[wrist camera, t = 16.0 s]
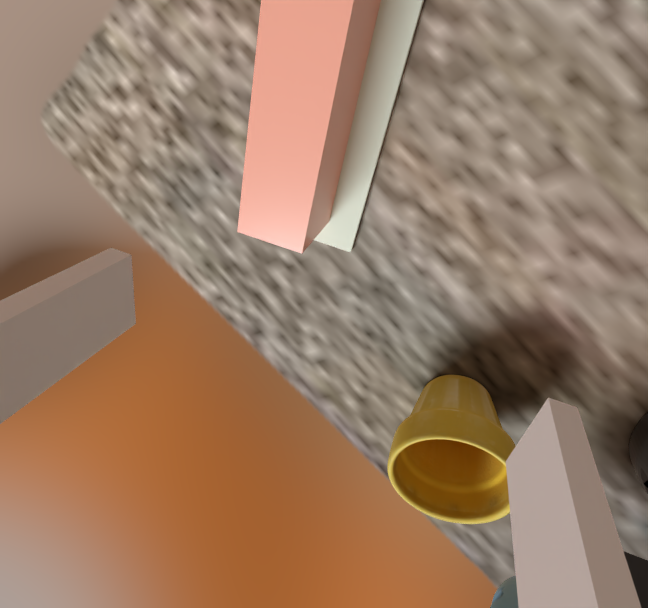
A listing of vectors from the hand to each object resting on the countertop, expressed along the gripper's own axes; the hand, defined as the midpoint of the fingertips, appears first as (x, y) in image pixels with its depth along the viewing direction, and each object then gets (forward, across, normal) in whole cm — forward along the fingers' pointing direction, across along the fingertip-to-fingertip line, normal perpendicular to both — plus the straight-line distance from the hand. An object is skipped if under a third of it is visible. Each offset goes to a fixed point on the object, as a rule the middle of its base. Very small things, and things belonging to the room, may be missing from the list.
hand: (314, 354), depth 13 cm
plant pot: (+24, -10, +19) cm, 32 cm away
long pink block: (+22, +8, -6) cm, 24 cm away
